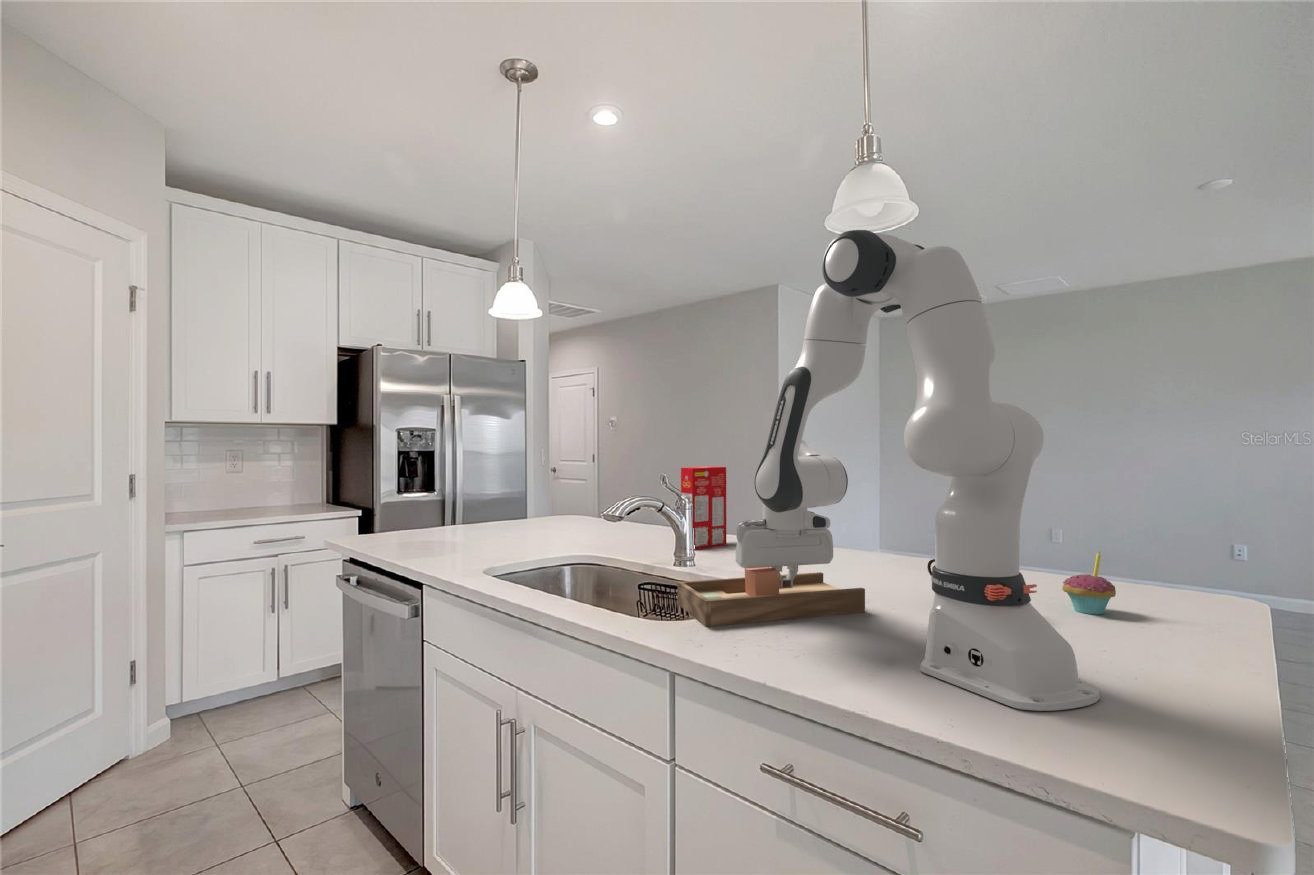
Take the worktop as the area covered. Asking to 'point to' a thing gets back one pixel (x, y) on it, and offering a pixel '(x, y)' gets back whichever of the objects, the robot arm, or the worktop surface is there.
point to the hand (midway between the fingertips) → (784, 587)
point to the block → (761, 581)
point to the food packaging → (706, 504)
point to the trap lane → (766, 600)
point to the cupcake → (1089, 591)
